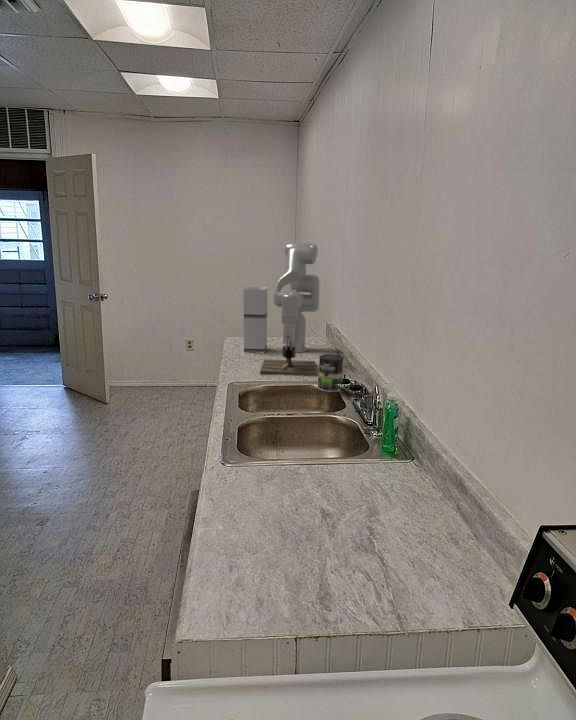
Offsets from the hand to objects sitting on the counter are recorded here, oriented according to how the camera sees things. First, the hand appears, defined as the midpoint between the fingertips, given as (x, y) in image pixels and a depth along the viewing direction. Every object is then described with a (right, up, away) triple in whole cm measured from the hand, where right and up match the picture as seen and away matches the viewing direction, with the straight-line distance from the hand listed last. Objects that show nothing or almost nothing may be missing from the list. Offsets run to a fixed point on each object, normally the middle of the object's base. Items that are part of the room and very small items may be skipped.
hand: (288, 356), depth 250 cm
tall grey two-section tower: (-19, +4, +39) cm, 43 cm away
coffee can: (+18, -14, -29) cm, 37 cm away
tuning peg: (-1, -5, -2) cm, 5 cm away
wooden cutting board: (0, -6, +1) cm, 6 cm away
